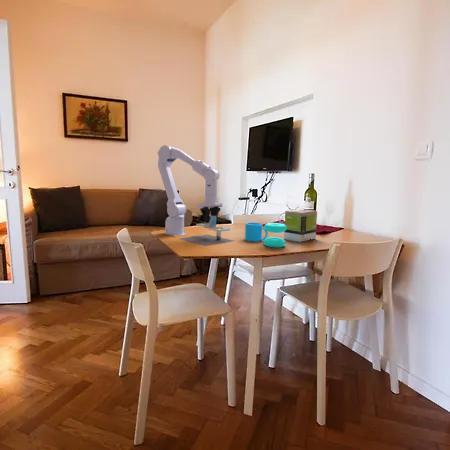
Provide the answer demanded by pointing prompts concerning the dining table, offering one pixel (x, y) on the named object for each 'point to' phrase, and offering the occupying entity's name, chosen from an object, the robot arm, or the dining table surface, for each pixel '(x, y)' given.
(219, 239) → the pin
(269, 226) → the donuts
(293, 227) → the tea box
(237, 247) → the dining table surface
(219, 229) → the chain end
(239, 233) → the dining table surface
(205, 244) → the mat
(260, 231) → the mug
